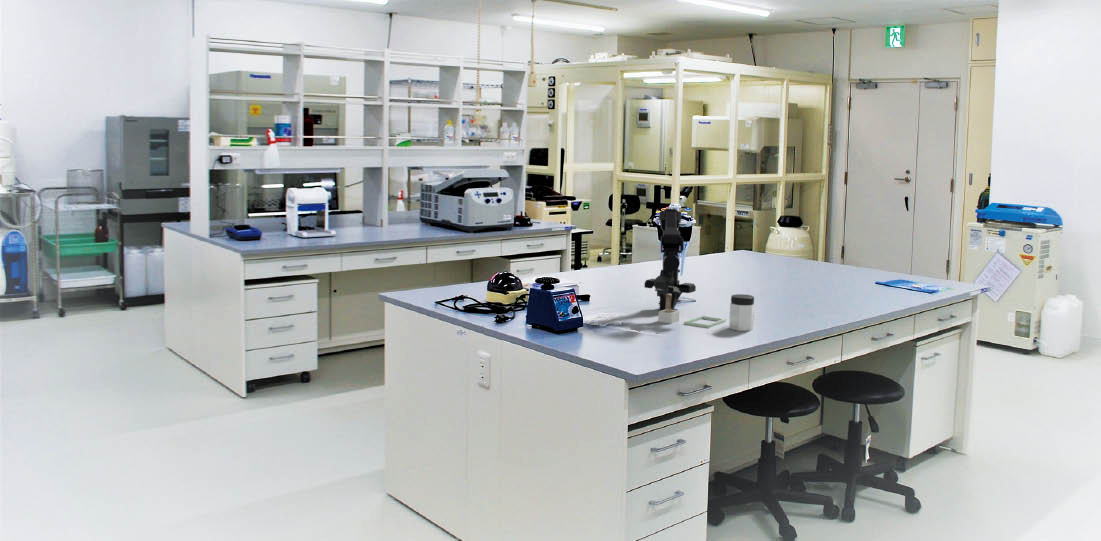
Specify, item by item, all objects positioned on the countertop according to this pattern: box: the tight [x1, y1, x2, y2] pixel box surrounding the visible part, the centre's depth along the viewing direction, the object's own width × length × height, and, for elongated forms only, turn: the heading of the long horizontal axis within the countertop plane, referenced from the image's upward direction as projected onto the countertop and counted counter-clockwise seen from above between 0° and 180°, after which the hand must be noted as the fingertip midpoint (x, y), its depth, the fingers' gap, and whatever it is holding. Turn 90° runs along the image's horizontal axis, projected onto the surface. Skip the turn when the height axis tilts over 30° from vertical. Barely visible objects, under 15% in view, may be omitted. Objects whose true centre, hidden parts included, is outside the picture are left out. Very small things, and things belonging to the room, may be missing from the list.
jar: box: [728, 293, 755, 332], centre depth 323 cm, size 9×8×12 cm
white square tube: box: [657, 310, 680, 324], centre depth 331 cm, size 6×6×4 cm
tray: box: [683, 315, 727, 329], centre depth 329 cm, size 14×10×2 cm
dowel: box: [665, 294, 673, 313], centre depth 331 cm, size 3×3×10 cm
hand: (669, 308), depth 331 cm, fingers closed on dowel, 3 cm apart
